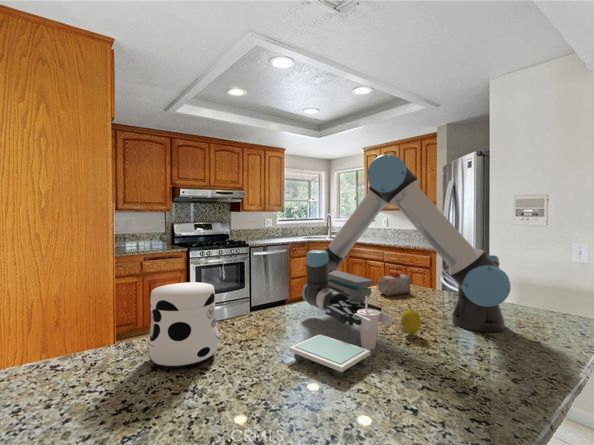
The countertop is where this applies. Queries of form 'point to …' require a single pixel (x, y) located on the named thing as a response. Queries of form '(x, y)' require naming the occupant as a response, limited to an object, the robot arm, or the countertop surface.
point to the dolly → (330, 353)
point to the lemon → (411, 321)
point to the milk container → (182, 324)
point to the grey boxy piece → (394, 284)
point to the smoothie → (370, 336)
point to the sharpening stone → (349, 285)
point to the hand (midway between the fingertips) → (380, 323)
